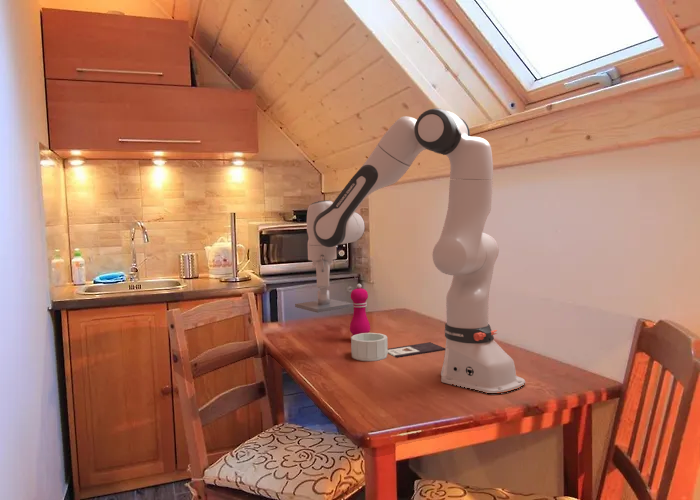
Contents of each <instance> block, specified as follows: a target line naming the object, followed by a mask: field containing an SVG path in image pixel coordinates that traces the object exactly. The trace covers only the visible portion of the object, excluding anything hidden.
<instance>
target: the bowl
mask: <svg viewBox="0 0 700 500" xmlns="http://www.w3.org/2000/svg"><path fill="white" fill-rule="evenodd" d="M352 335H353V334H352ZM352 335H351V336H352ZM351 336H350V340H351V341H350V342H351V343H350V345H351V349H350V350H351V358H352V359H354V360H357V361H361V362H376V361H377V362H378V361H382V360H385V359H386V358H388V349H389V346H388V342H389V341H388V336H387V335H386V334H383V333H379V332H377V333H376V332H369V333H361V334H356V335H353V336H352V337H351Z"/></svg>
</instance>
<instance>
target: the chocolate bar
mask: <svg viewBox="0 0 700 500" xmlns="http://www.w3.org/2000/svg"><path fill="white" fill-rule="evenodd" d="M445 348H446V347H443V346H441V345H438V344H435V343H433V342H431V341H430V342H424V343H416V344H409V345H403V346H396V347H390V348H389V347H388V354H389V355H391V356H393V357H395V358H397V359H398V358H399V359H400V358H403V357H410V356H417V355H422V354H423V355H424V354H429V353H430V354H431V353H436V352H442V351H445ZM388 354H387V355H388Z"/></svg>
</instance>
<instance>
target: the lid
mask: <svg viewBox="0 0 700 500" xmlns="http://www.w3.org/2000/svg"><path fill="white" fill-rule="evenodd" d="M294 307H295V308H297V309H301V310H306V311H309V312H313V313H323V312H330V311H337V310H343V309H348V308H354V307H353V302H348V301H343V300H338V299H332V298H330V289H329V290H328V289H327V299H326V300H321V292H320V289H319V290H317V300H313V301H307V302H306V301H305V302H300V303H299V302H298V303H295V305H294Z"/></svg>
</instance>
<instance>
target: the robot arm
mask: <svg viewBox="0 0 700 500" xmlns="http://www.w3.org/2000/svg"><path fill="white" fill-rule="evenodd" d="M425 150H428V151H430V152H433V153H436V154H439V155H443V156H446V157H447V158H448V160H449V164H450V167H449V168H450V171H449V174H450V175H449V186H448V187H449V188H448V204H447V205H448V206H447V211H446V214H445V215H446V216H445V219H444V223H443V227H442V231H441V234H440V237H439V238H438V241H437V242H436V244H435V245H434V247H433V250H432V254H431V255H432V261H433V264H434V266H435V267H436V269H437V270H438V271H439V272H440V273H442V274H443V275H444V274H445V275H448V276H452V280H451V284H450V287H449V289H448V291H447V294H446V299H445V300H446V302H445V303H446V304H445V305H446V307H445V308H446V311H445V312H446V314H445V315H446V322H445V324H444V337H445V339H446V340H445V341H446V343H445V347H444V348H445V350H444V357H443V363H442V368H441V370H440V371H441V372H440V376H441V378H440V381H441V382H442V383H444V384H448V385H452V384H454V385H453V386H456V385H457V387H460V386H461V387H460V388H464V387H465V388H464V389H467V388H470V389H469V390H471V389H475V390H479V391H483V392H487V393H497V392H504V391H508V390H512V389H515V388H518V387H520V386H522V385H524V383H525V384H526V380H525V379H524V378H523V377H521V376H518V375H517V372H516V366H515V365H516V364H515V361H514V359H513V358H512V357H511V356H510V355H509V354H508V353H507V352H506V351H505V350H504V349H503V348H502V347H501V346H500V345H499V344H498V342H496V341H495V337H494V335H497V334H498V333H496V332H497V331H498V330H497V329H494V330H492V328H491V326H490V324H489V301H490V299H489V298H490V288H491V284H492V279H493V274H494V268H495V264H496V260H497V258H498V257H499V251H500V249H499V244H498V242H497V240H496V239H495V238H494V237H493V236H492V235H490V234H488V233H487V232H486V233H485V232H484V228H485V224H486V222H487V219H488V217H489V214H490V213H491V211H492V198H493V184H494V163H493V162H494V158H493V152H492V146H491V144H490V143H489V141H488V140H487V139H485V138H483V137H479V136H472V135H471V132H470V128H469V126H468V123H467V122H466V121H465V120H464V119H463V118H461V117H459V115H457V114H455V113H454V112H452V111H449V110H446V109H442V108H431V109H428V110H425V111H423V112H422V113H421V114H420V115H419V116H418V118H417V119H416V118H415V117H412V116H406V115H404V116H401V117H399V118H398V119H397V120H395V122H394V123H392V124H391V126H390V127H389V128H388V130H387V131H386V132H385V133H384V134H383V136H382V137H381V138H380V140H379V141H378V143H377V144H376V146H375V147H374V149H373V150H372V152H371V154H370V155H368V158H367V159H366V160H365V162H364V163H363V164H362V165H361V166H360V167H359V169H358V171H357V172H356V173H355V174H354V175H353V176H352V177H351V178H350V180H349V181H348V183H347V184H346V185H345V187H344V188H343V189H342V190H341V192H340V193H339V194H338V196H337V197H336V198H335V199H334V201H331V200H330V199H329V200H327V199H326V200H319V201H315V202H312V203H310V204H309V206H308V208H307V213H306V233H307V236H308V240H307V260H308V261H312V263H311V264H312V266H315V269H316V271H315V273H316V287H317V288H318V289H319V290H320V292H321V300H326V299H327V290H328V288H329V287H330V272H331V271H330V270H331V266H332V265H333V264H334V263H333V260H334V261H335V260H336V259H338V258H337V257H338V255H337V246H338V245H344V244H345V245H346V244H349V243H355V242H357V241H358V240H360V239H362V237H363V236H364V234H365V231H366V225H365V223H366V222H365V221H364V218H363V217H362V215H361V214H360V213H358V212H356V211H357V210H358V208H359V207H360V206H361V204H363V202H364V201H365V199H366V198H368V197H369V195H371V194H372V193H374V192H376V191H378V190H381V189H383V188H386V187H388V186H392V185H394V184H395V183H398V181H399V180H401V178H403V176H404V175H406V173H407V172H408V170H409V169H410V167H411V166H412V164H413V162H414V161H415V160H416V158H417V157H418V155H419V154H421V153H422V152H423V151H425ZM524 386H525V385H524ZM475 390H474V391H475ZM479 391H478V392H479ZM483 392H482V393H483ZM487 393H486V394H487Z"/></svg>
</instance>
